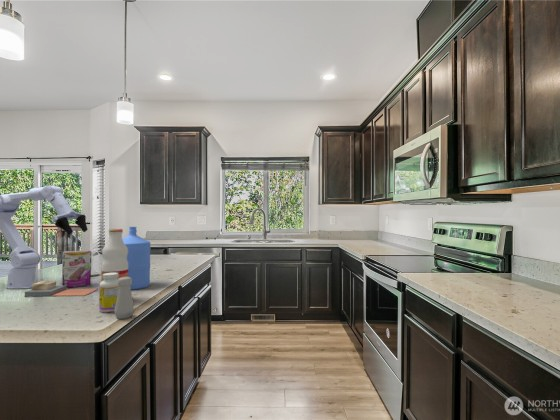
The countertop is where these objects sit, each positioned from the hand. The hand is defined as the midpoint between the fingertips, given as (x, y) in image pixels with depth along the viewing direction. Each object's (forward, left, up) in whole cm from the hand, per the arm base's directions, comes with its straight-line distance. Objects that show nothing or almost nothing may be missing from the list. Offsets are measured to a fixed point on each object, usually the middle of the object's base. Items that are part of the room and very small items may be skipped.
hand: (78, 231), depth 140 cm
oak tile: (-10, -7, -24) cm, 27 cm away
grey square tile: (-9, -7, -26) cm, 28 cm away
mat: (+3, -7, -26) cm, 27 cm away
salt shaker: (+36, -40, -26) cm, 60 cm away
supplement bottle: (+28, -32, -26) cm, 50 cm away
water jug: (+22, +4, -26) cm, 34 cm away
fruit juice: (+24, -19, -26) cm, 40 cm away
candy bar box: (-4, +6, -26) cm, 27 cm away
